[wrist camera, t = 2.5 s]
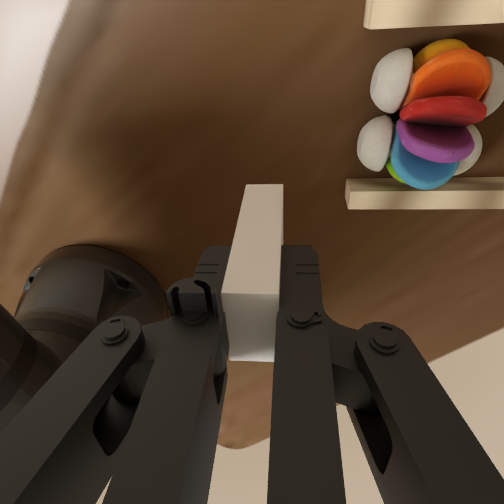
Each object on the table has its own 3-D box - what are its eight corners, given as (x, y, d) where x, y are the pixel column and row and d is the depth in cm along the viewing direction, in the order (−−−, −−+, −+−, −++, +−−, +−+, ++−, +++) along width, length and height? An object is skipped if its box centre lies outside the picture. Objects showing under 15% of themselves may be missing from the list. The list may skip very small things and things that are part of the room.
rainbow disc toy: (505, 40, 24) (574, 56, 18) (450, 175, 30) (489, 219, 24) (378, 30, 25) (407, 42, 19) (347, 166, 30) (361, 208, 24)
